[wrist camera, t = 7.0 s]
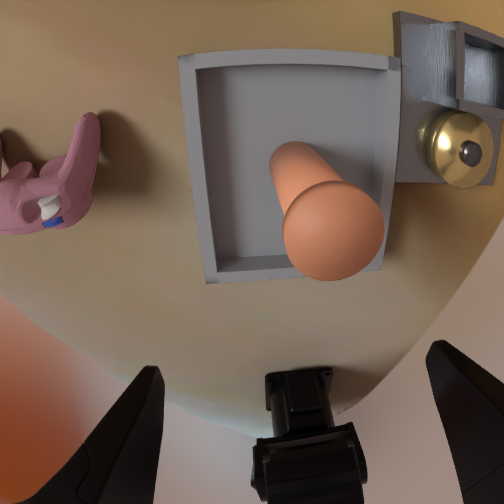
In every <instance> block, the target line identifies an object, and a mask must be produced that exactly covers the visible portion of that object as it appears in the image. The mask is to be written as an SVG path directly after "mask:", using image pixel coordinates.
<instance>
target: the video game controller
mask: <svg viewBox="0 0 504 504" xmlns="http://www.w3.org/2000/svg"><path fill="white" fill-rule="evenodd" d="M100 142H101V128H100V122H99V119H98V118H97V117H96V115H95V114H94V113H91V112H89V113H86V114H84V115H83V116H82V117H81V119H80V120H79V122H78V123H77V125H76V127H75V130H74V133H73V137H72V140H71V144H70V147H69V150H68V153H67V156H66V157H65V156H61V157H56V158H54V159H52V160H50V161H49V162H47V163H46V164H45V165H44V166H43V167H42V169H41V171H40V174H39V178H37V174H36V172H35V170H34V168H33V166H32V164H31V163H30V162H27V161H24V162H20V163H19V164H17V165H15V166H14V167H13V168H12V169H11V170H10V171H9V172H8V173H7V174H6V175H5V176H4V177H3V178H2V177H1V166H2V142H1V138H0V234H3V235H20V234H27V233H33V232H37V231H40V230H44V229H47V228H50V227H51V228H53V229H64V228H67V227H70V226H72V225H74V224H75V223H77V222H78V221H79V220H81V219H82V218H83V217H84V216H85V215H86V213H87V212H88V210H89V208H90V206H91V203H92V193H91V188H92V186H93V182H94V177H95V172H96V168H97V164H98V158H99V152H100Z"/></svg>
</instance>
